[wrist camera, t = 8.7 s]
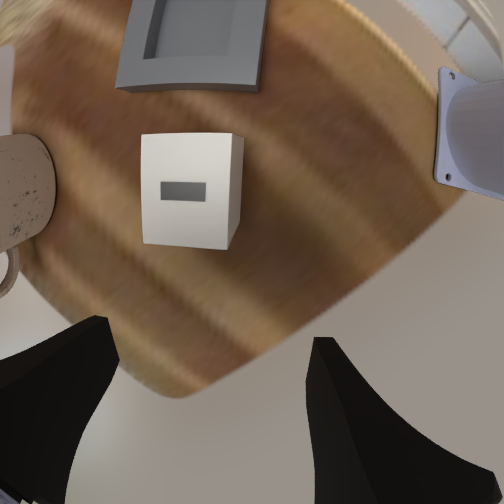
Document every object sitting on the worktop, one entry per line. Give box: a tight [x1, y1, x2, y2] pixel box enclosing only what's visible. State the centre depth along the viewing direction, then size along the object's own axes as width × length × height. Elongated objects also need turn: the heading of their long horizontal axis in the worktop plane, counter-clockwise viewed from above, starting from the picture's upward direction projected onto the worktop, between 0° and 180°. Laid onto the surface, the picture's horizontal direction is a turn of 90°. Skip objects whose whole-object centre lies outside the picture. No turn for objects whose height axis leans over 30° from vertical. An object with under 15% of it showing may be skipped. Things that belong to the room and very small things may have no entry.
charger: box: [141, 133, 244, 250], centre depth 14 cm, size 4×5×5 cm
